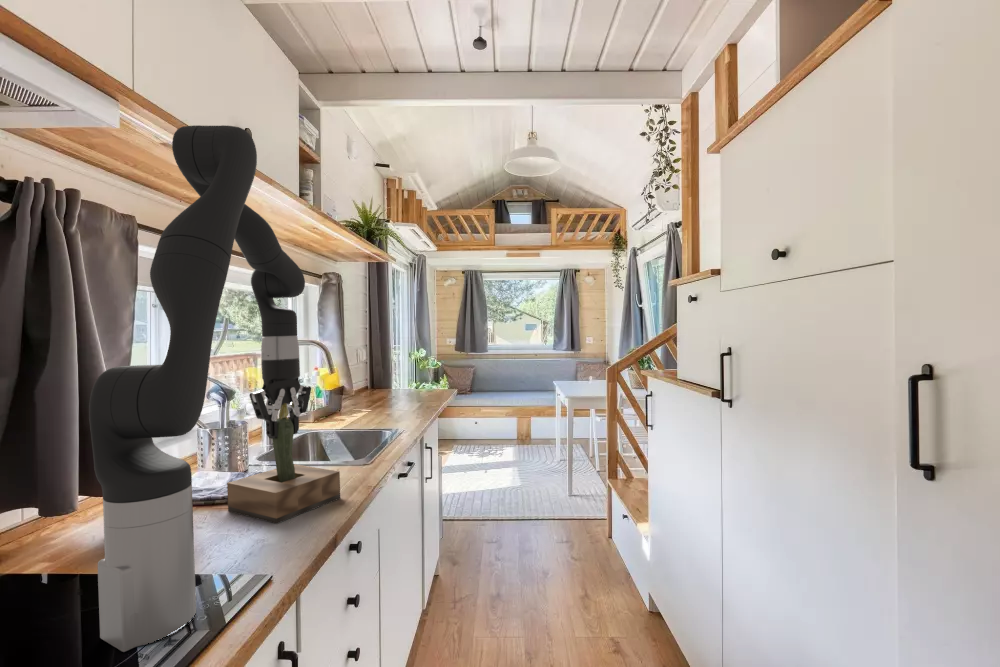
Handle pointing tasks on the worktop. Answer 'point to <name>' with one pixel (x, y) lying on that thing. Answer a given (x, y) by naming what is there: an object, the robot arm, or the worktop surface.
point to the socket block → (283, 493)
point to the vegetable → (284, 446)
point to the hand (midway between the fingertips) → (283, 435)
